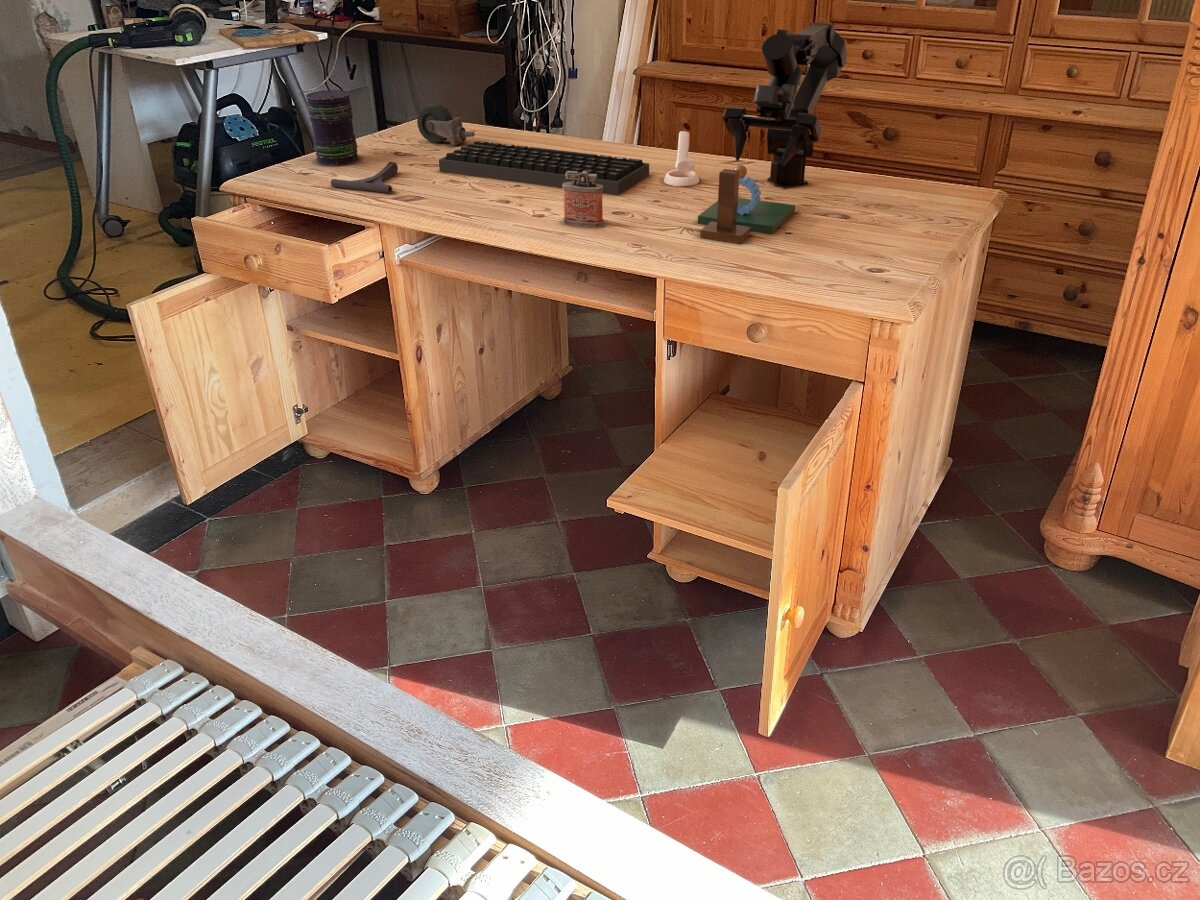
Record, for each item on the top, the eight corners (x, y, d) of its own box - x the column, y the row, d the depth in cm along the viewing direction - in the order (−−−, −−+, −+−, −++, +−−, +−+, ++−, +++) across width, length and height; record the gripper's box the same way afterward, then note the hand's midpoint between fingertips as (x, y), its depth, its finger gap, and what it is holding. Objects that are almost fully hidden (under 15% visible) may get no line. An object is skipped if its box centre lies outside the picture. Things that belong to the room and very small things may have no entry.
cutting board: (723, 203, 198) (723, 195, 197) (794, 212, 192) (795, 205, 192) (697, 223, 188) (697, 215, 187) (772, 234, 182) (772, 226, 181)
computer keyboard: (649, 175, 216) (649, 158, 214) (618, 195, 204) (618, 176, 202) (477, 154, 233) (476, 138, 231) (439, 171, 221) (438, 154, 219)
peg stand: (719, 221, 188) (722, 159, 182) (759, 227, 185) (763, 163, 179) (699, 237, 181) (702, 173, 174) (740, 243, 177) (745, 178, 171)
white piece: (693, 146, 217) (705, 133, 210) (691, 198, 215) (703, 187, 209) (661, 140, 215) (673, 128, 208) (659, 193, 213) (670, 182, 207)
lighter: (606, 222, 189) (605, 171, 183) (600, 228, 186) (599, 175, 181) (567, 218, 191) (565, 167, 186) (560, 224, 188) (559, 172, 183)
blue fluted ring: (729, 212, 190) (724, 176, 187) (763, 210, 187) (759, 174, 184) (724, 215, 188) (720, 180, 185) (759, 214, 185) (755, 177, 182)
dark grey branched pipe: (423, 175, 219) (422, 163, 217) (388, 194, 207) (387, 181, 205) (368, 170, 223) (367, 158, 222) (331, 188, 211) (329, 175, 210)
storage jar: (310, 159, 232) (299, 93, 224) (350, 152, 236) (340, 88, 229) (324, 168, 225) (314, 101, 217) (365, 161, 229) (356, 95, 221)
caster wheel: (417, 147, 244) (469, 146, 238) (410, 107, 239) (462, 105, 233) (429, 141, 248) (480, 140, 242) (422, 102, 243) (474, 100, 237)
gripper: (728, 63, 188) (704, 134, 185) (823, 70, 181) (800, 144, 178) (739, 97, 198) (717, 165, 196) (830, 105, 191) (808, 176, 188)
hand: (759, 162), depth 189 cm, fingers open, 9 cm apart
